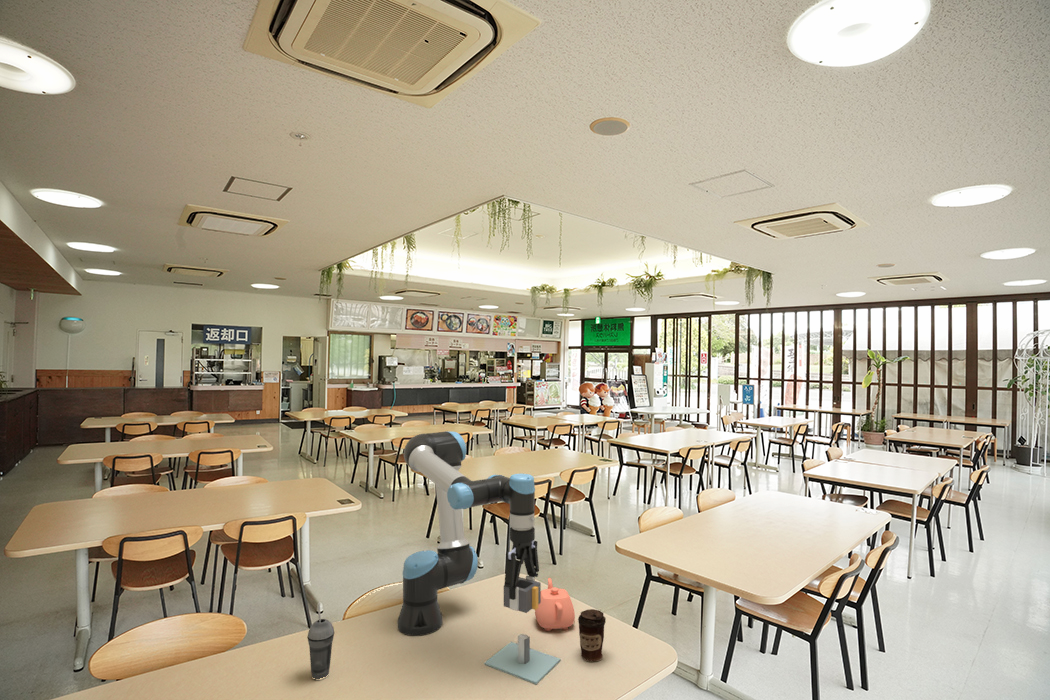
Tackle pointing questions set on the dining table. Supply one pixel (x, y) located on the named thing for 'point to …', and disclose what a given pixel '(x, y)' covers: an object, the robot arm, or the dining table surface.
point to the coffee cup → (591, 634)
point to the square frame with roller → (525, 595)
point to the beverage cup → (320, 646)
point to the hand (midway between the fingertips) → (522, 603)
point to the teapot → (555, 609)
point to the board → (522, 669)
